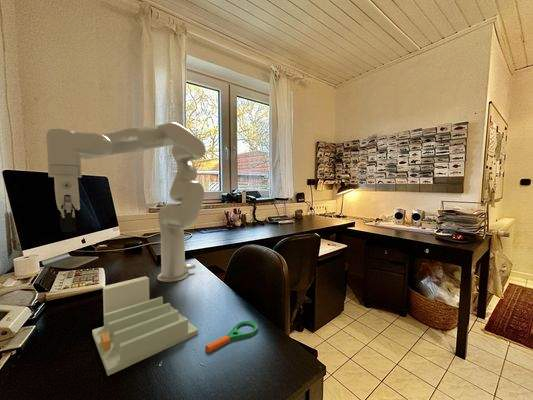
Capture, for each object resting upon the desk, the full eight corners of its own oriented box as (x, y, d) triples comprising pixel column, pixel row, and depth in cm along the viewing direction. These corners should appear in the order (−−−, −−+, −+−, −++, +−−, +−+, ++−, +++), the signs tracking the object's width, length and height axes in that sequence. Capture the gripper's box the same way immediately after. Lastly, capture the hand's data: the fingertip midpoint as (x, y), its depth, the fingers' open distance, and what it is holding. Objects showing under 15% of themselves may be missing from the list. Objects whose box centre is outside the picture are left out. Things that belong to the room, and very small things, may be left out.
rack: (169, 307, 75) (168, 293, 75) (198, 333, 62) (197, 316, 62) (92, 334, 61) (91, 316, 61) (107, 375, 48) (107, 353, 48)
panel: (146, 302, 79) (145, 276, 79) (149, 305, 77) (148, 278, 76) (103, 315, 71) (102, 286, 70) (105, 319, 69) (104, 289, 68)
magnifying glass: (247, 322, 68) (247, 316, 68) (262, 331, 64) (262, 325, 64) (200, 347, 57) (200, 340, 57) (214, 359, 53) (214, 352, 53)
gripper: (84, 171, 66) (86, 231, 67) (78, 174, 79) (81, 224, 80) (47, 170, 61) (51, 235, 62) (48, 173, 74) (51, 227, 75)
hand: (68, 229), depth 71 cm, fingers open, 9 cm apart
